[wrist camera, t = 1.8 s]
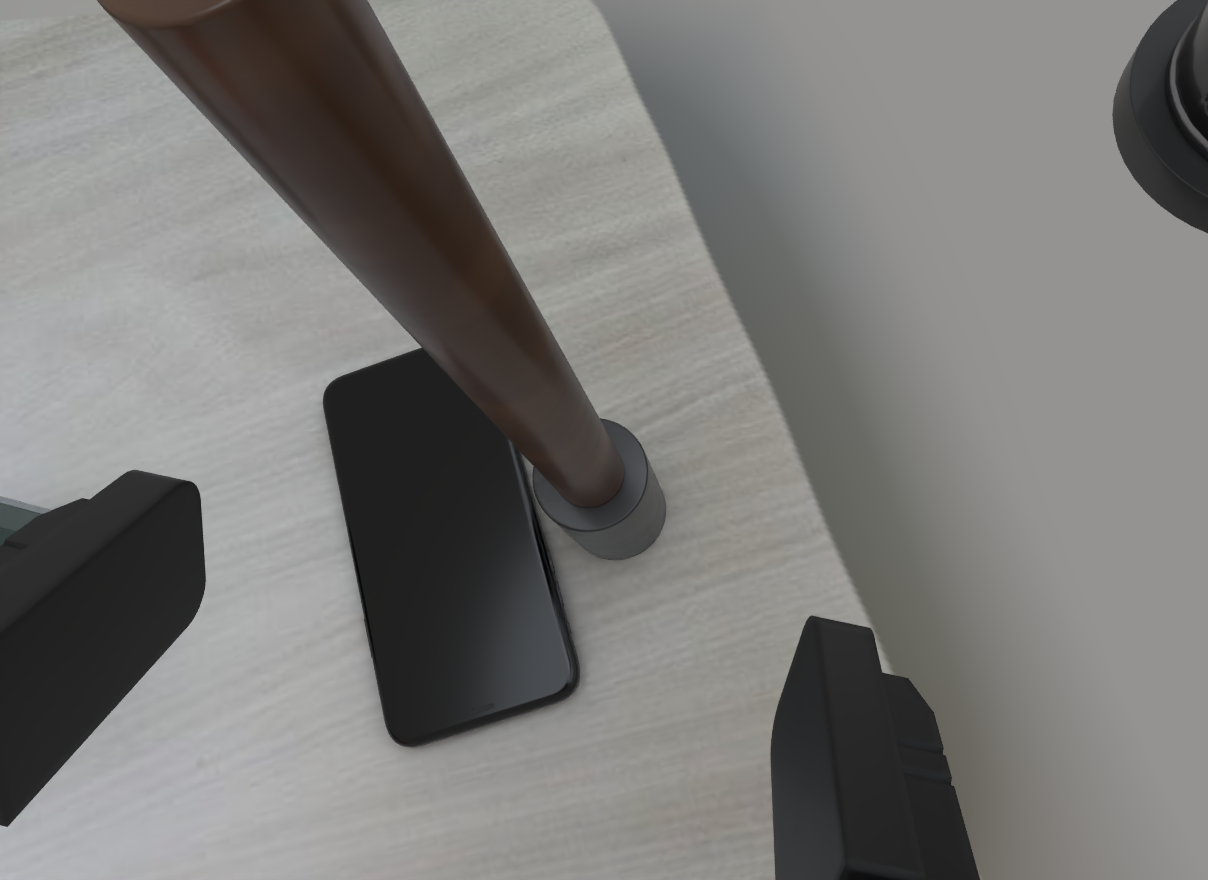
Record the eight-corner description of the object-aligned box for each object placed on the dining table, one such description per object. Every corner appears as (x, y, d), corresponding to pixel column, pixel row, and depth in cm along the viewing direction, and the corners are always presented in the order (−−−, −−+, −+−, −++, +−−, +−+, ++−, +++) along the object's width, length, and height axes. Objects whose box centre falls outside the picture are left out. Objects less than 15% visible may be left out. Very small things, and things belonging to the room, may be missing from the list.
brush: (618, 443, 36) (231, -278, 10) (686, 509, 35) (459, -113, 8) (548, 511, 36) (-53, -42, 9) (615, 581, 34) (140, 169, 8)
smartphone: (324, 389, 39) (396, 755, 34) (314, 381, 38) (387, 755, 33) (490, 330, 38) (590, 693, 33) (484, 322, 38) (585, 693, 32)
